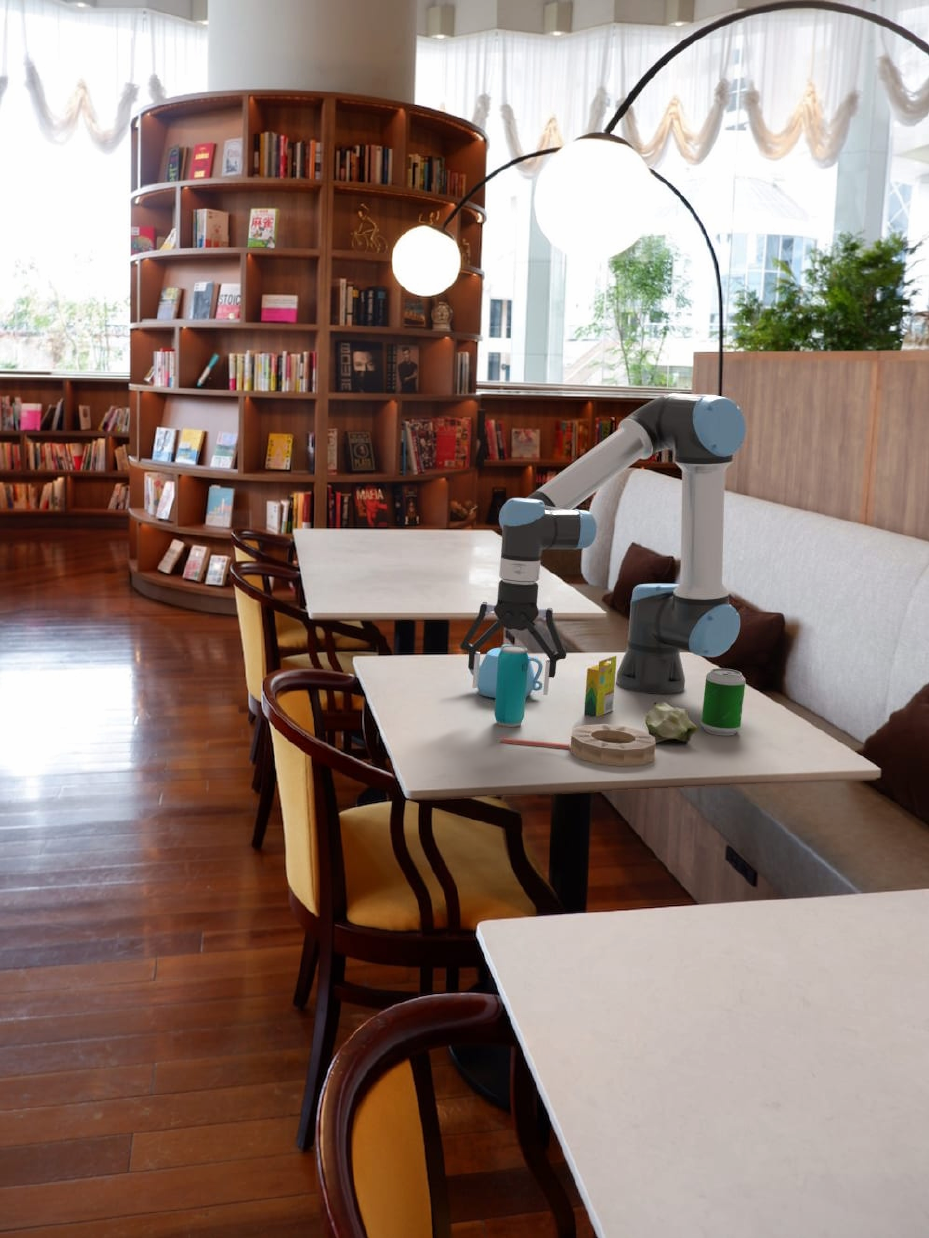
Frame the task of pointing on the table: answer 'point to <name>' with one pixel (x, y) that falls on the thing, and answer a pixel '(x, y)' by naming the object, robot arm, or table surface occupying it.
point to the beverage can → (511, 685)
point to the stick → (535, 743)
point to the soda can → (723, 701)
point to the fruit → (669, 723)
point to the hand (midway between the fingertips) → (510, 689)
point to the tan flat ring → (612, 745)
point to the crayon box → (600, 688)
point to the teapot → (489, 674)
